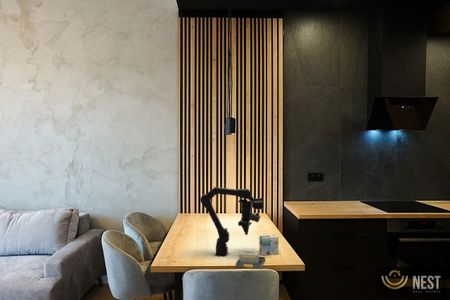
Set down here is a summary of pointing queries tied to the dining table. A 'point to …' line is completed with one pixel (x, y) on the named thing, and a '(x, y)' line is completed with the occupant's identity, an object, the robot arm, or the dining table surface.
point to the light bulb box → (269, 244)
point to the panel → (249, 258)
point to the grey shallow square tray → (261, 262)
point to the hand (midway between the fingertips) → (246, 234)
